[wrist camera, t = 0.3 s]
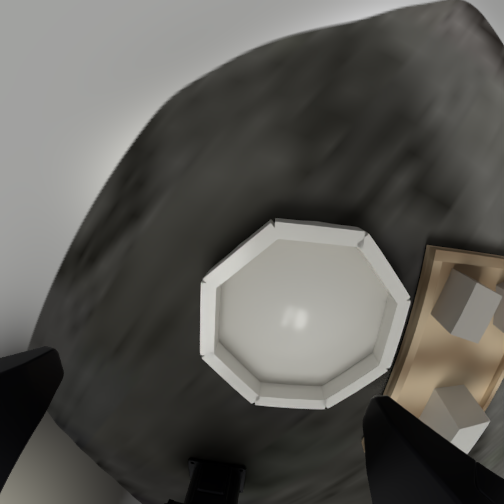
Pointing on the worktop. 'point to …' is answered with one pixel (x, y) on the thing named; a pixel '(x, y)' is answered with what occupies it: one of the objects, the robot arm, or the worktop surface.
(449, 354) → the tray
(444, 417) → the grey rectangular block
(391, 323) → the bowl
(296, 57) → the worktop surface
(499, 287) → the grey piece
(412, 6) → the worktop surface
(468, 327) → the grey cubic piece
